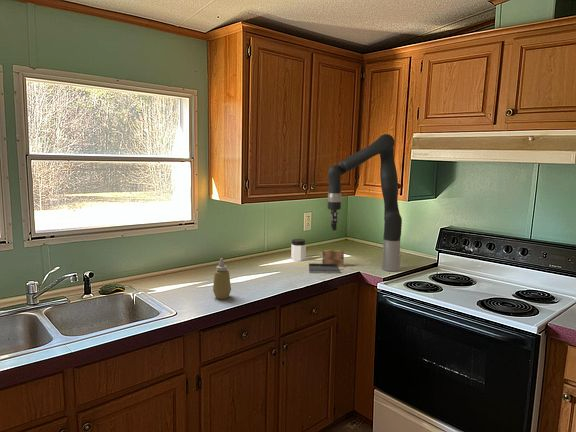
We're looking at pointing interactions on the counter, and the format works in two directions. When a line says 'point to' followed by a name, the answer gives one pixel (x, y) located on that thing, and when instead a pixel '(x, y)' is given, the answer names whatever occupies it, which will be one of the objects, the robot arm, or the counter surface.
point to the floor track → (323, 268)
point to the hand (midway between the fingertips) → (333, 228)
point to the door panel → (333, 257)
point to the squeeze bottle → (221, 281)
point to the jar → (298, 250)
